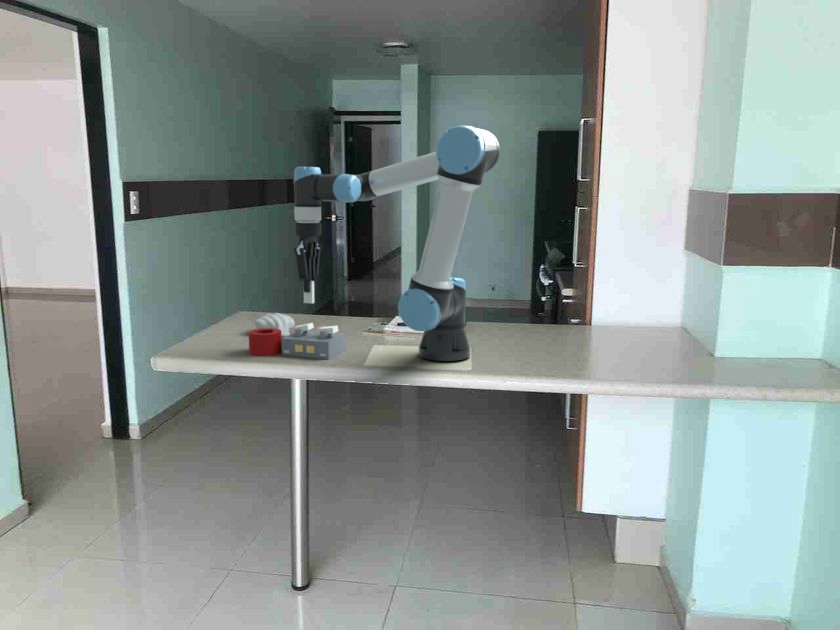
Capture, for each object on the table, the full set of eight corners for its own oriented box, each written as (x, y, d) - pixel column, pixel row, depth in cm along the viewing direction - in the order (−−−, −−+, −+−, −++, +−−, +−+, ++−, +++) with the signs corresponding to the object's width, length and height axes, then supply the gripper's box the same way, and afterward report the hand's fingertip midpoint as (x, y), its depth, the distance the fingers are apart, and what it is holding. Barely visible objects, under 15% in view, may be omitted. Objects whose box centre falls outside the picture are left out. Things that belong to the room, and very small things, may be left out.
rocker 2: (338, 330, 198) (337, 325, 198) (333, 333, 195) (332, 327, 195) (320, 332, 200) (319, 326, 200) (314, 334, 197) (313, 329, 197)
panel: (345, 349, 204) (345, 326, 202) (328, 359, 192) (327, 334, 191) (301, 345, 208) (300, 322, 207) (281, 355, 197) (280, 331, 195)
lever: (270, 358, 194) (269, 336, 192) (242, 355, 197) (241, 333, 196) (302, 345, 210) (302, 324, 209) (276, 342, 213) (275, 321, 212)
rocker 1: (313, 327, 201) (312, 322, 201) (308, 330, 197) (306, 324, 197) (296, 331, 203) (295, 325, 203) (290, 333, 199) (289, 328, 199)
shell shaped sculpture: (259, 330, 230) (258, 311, 229) (296, 330, 231) (296, 311, 229) (252, 338, 217) (251, 319, 216) (291, 338, 218) (291, 319, 217)
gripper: (306, 220, 200) (307, 298, 205) (285, 222, 188) (286, 305, 193) (329, 221, 198) (330, 300, 203) (309, 223, 186) (310, 307, 191)
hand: (309, 302), depth 198 cm, fingers closed
